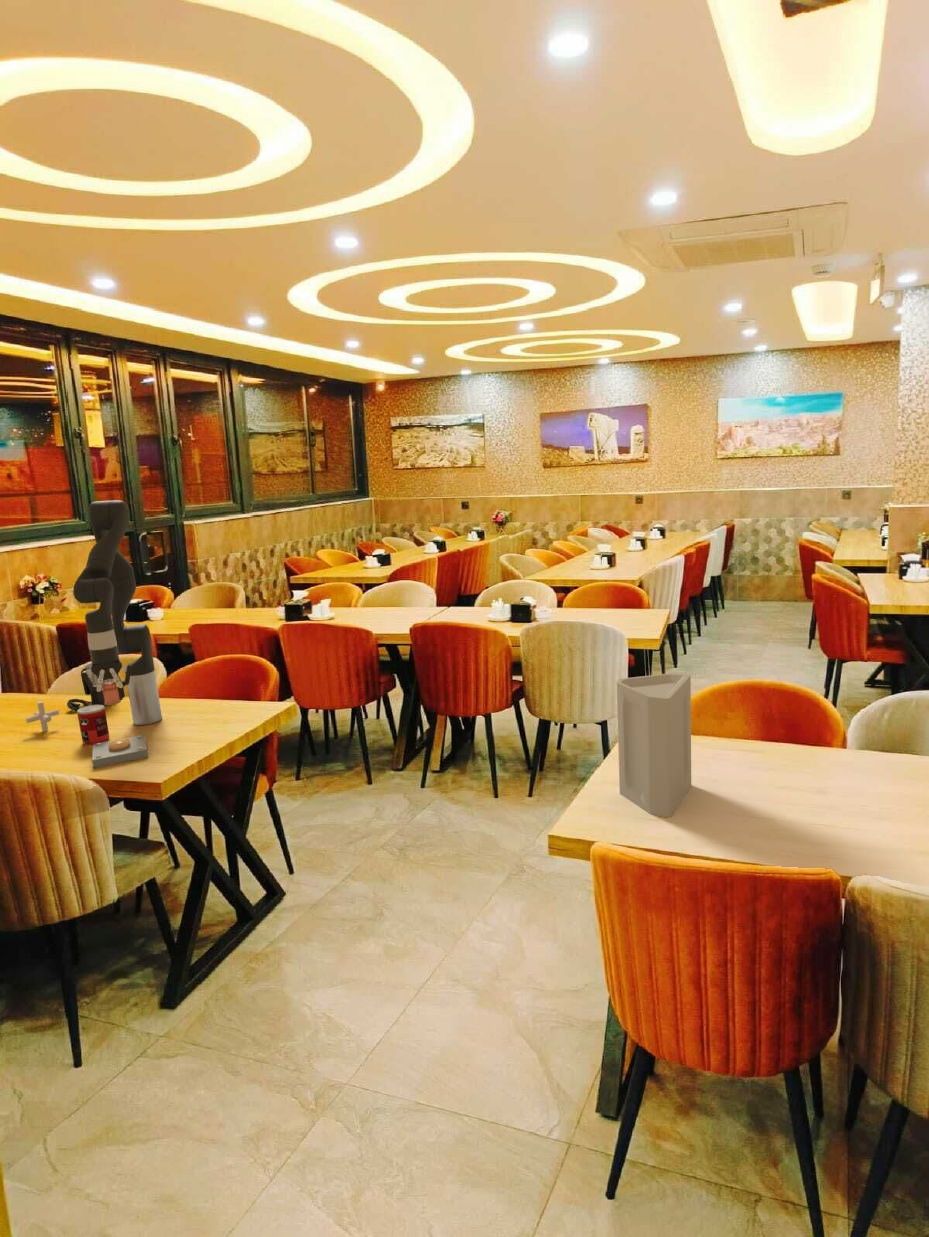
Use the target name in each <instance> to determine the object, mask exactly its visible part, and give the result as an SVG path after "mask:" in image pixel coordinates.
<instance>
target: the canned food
mask: <svg viewBox="0 0 929 1237" xmlns="http://www.w3.org/2000/svg"><path fill="white" fill-rule="evenodd" d="M82 707H83V706H82ZM76 713H77V718H78V724H79V728H80V729H79V730H80V736H81V741H82V743H83V744H84V745H85V746H93V744H96V743H102V742H107V741H110V740H109V739H110V732H109V725H108V719H107V714H106V713H107V712H106V707H105V706H103V705H88V706H86V707H83V708H80V709H78V710H77V711H76Z"/></svg>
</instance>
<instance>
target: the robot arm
mask: <svg viewBox="0 0 929 1237" xmlns="http://www.w3.org/2000/svg"><path fill="white" fill-rule="evenodd" d="M88 517H89V522H90V526H91V530H92V533H93V538H94V540H95V544H94V545H93V547H92V548H91V549H90V551H89V554H88V558H87V561H86V565H85V568H84V569H83V570H82V571H81V573H80V574H79V576H78V577H77V579H76V580H75V582H74V585H73V590H72V594H73V597H74V599H75V600H76V601H77V602H78V603H80V604H94V603H99V607H98V608H97V609H94V610H91V611H89V612H88V611H87V613H85V615H84V620H85V625H86V631H87V632H86V633H87V643H88V644H87V646H88V647H87V648H88V650H89V656H90V661H91V662H90V663H92V667H91V669H89V670H87V671H83V672H82V676H83V678H84V680H85V682H86V683H87V685H88V687H89V689H90V690H91V691H96V692H97V694H98V700H99V702H102V703H104V699H103V693H102V690H101V687H102V682H103V680H107V679H114V682H116V685H117V687H119V688H118V689H119V695H120V700H121V701H123V700H124V699H123V698H125V697H126V695H125V694H126V693H125V690H124V687H126V686H127V692H128V698H129V704H130V705H129V706H130V709H131V710H130V711H131V715H132V721H133V722H132V723H133V724H134V725H137V726H145V725H150V724H154V723H157V722H159V721H161V720H162V719H163V715H162V709H161V701H160V695H159V689H158V681H157V676H156V670H155V663H154V656H153V648H152V637H151V636H152V635H151V631H150V628H149V626H148V625H147V624H144V623H143V624H133V625H125V622H124V620H125V615H126V613H127V609H128V607H129V605H130V603H131V601H132V599H133V598H134V595H135V593H136V590H137V582H136V577H135V571H134V567H133V566H132V564H131V562H129V560H128V559H127V558H126V557H125V556H124V555H123V554H122V553H121V552H120V551H119V547H120V546H121V542H122V541H123V539H124V536H125V534H126V532H127V530H128V526H129V523H130V518H131V517H130V509H129V506H128V504H127V503H126V502H125V501H123V500H118V499H117V500H100V501H99V500H98V501H92V502H90V504H89V507H88ZM137 653H139V654H140V653H141V656H140V657H138V658H137V659H136V660H133V661H131V662H129V663H127V664H125V663H122V662H121V660H120V655H119V654H121V655H126V654H127V655H128V654H137ZM121 669H123V672H124V673H125V675H124V680H122V679H121V677H120V676H119V673H120V671H121ZM91 673H94V674H95V675H96V676H97V677H98V683H97V686H94V685H93V683H92V681H91V679H90V677H91Z"/></svg>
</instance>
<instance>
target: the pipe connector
mask: <svg viewBox="0 0 929 1237" xmlns="http://www.w3.org/2000/svg"><path fill="white" fill-rule="evenodd" d="M58 715H60V711H59V709H54V710H51V711H45V705H44V701H38V702H37V711H35V712H34V714H33V716H29V717H26V718H25V722H26V724H30V723H33V722H37V721H40V724H41V730H42V732H48V731H49V726H48V723H50V722H52V717H55V716H58Z"/></svg>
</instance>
